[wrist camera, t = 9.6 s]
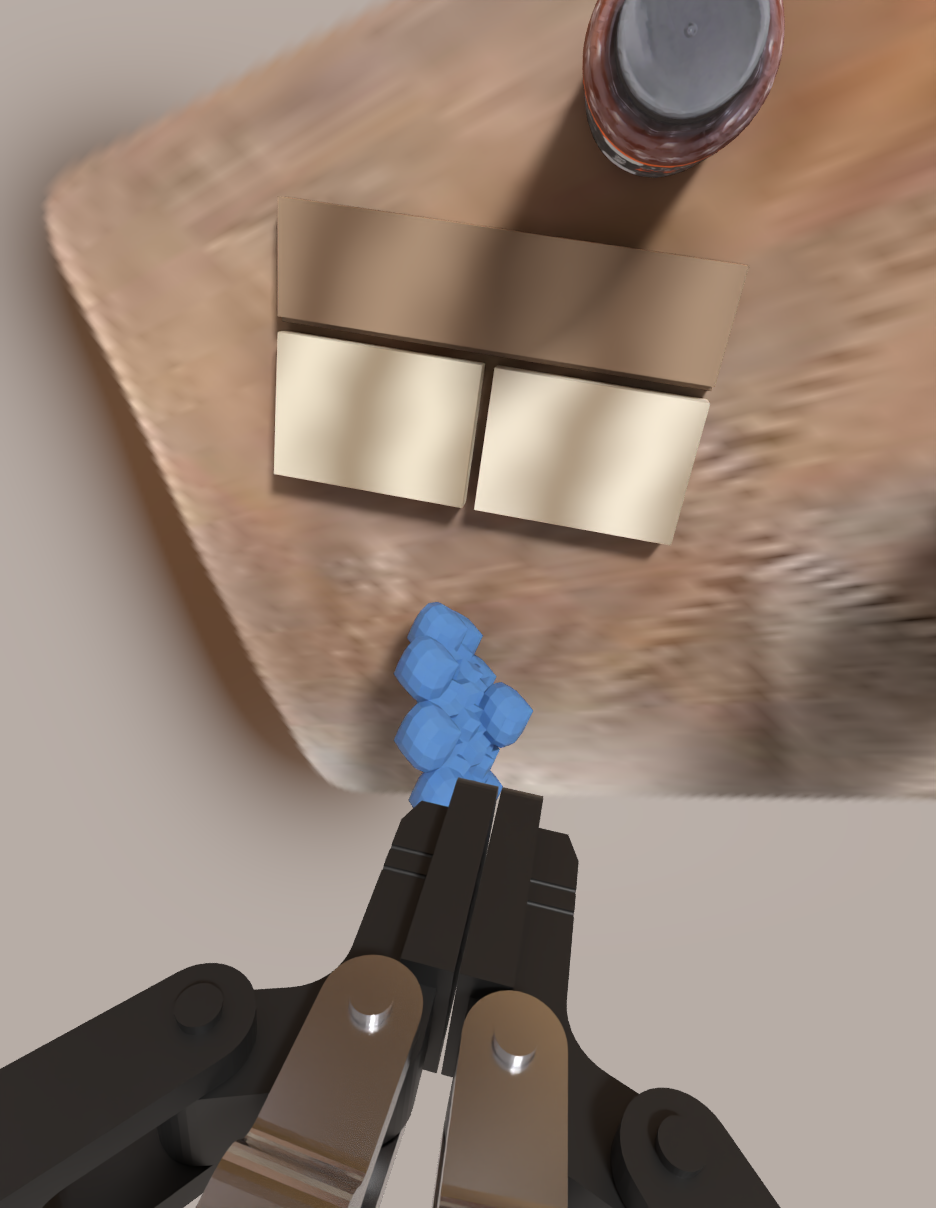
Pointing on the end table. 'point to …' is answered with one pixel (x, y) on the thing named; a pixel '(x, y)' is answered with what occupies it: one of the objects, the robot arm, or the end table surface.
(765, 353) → the end table surface
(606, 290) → the laid plank
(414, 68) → the end table surface
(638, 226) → the end table surface
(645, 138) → the supplement bottle
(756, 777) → the end table surface
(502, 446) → the plank
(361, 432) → the plank
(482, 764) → the grapes
